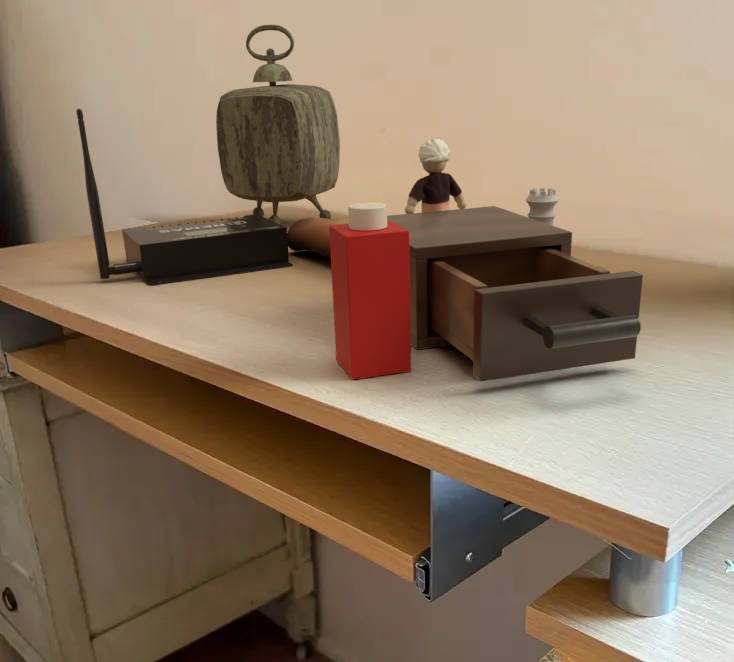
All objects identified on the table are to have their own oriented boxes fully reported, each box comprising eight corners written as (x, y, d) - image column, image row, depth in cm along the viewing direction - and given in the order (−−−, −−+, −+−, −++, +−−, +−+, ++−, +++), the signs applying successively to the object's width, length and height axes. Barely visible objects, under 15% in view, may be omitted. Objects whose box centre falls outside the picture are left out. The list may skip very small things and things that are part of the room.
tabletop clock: (343, 220, 115) (334, 22, 105) (313, 233, 107) (300, 20, 98) (254, 216, 120) (237, 28, 111) (219, 228, 113) (198, 27, 103)
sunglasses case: (437, 263, 86) (410, 212, 83) (391, 307, 85) (360, 257, 81) (346, 238, 101) (319, 193, 97) (305, 276, 99) (276, 231, 95)
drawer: (673, 378, 53) (683, 289, 51) (509, 405, 50) (512, 311, 48) (546, 311, 68) (549, 239, 66) (413, 328, 65) (412, 253, 63)
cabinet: (566, 329, 66) (572, 232, 63) (417, 350, 63) (415, 248, 60) (492, 289, 79) (494, 205, 76) (363, 304, 75) (360, 217, 72)
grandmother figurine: (445, 251, 95) (444, 134, 90) (470, 255, 92) (471, 136, 87) (396, 263, 90) (394, 141, 85) (422, 268, 87) (421, 143, 82)
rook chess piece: (512, 273, 84) (515, 192, 81) (521, 263, 88) (524, 186, 85) (557, 275, 82) (561, 193, 79) (564, 265, 86) (569, 187, 83)
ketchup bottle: (391, 352, 63) (388, 198, 58) (411, 371, 59) (409, 207, 54) (335, 360, 62) (327, 203, 57) (352, 379, 58) (344, 212, 53)
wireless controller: (255, 243, 102) (242, 96, 96) (294, 265, 91) (283, 98, 84) (88, 264, 95) (62, 105, 88) (107, 291, 83) (78, 110, 76)
